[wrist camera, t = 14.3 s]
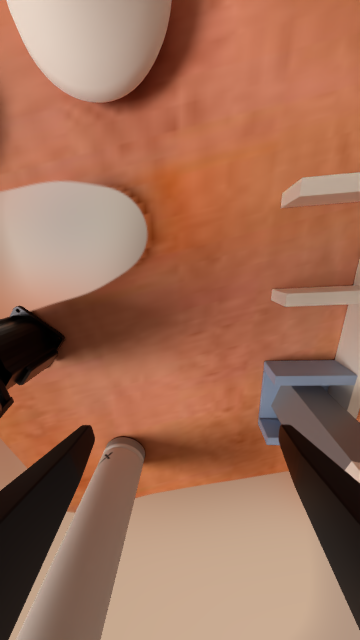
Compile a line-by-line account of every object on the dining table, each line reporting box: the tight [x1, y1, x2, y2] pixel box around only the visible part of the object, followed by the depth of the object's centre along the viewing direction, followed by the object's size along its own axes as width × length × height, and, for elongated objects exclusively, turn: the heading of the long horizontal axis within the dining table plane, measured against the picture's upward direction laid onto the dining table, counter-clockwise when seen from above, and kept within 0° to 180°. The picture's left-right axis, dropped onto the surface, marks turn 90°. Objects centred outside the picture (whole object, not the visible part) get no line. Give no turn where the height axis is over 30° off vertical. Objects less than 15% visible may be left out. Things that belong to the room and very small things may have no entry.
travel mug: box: [16, 437, 145, 640], centre depth 18 cm, size 6×7×20 cm
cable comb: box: [258, 172, 360, 445], centre depth 18 cm, size 27×9×3 cm, turn 3°
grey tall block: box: [271, 385, 360, 483], centre depth 16 cm, size 4×4×12 cm
